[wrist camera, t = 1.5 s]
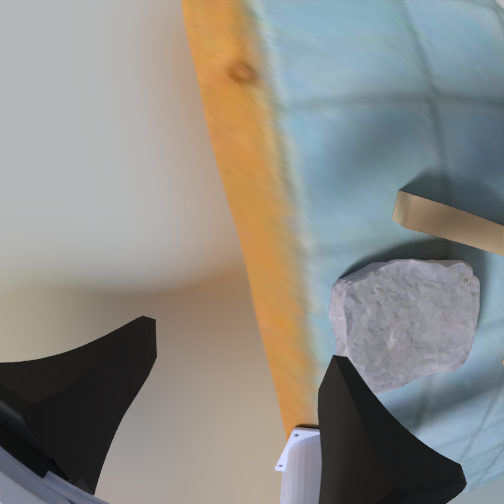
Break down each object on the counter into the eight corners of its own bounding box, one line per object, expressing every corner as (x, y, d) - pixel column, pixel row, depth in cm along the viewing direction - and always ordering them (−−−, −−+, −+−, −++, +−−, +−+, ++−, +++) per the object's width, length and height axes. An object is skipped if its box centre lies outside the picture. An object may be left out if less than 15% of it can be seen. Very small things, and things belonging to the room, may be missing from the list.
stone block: (319, 265, 21) (334, 379, 22) (326, 277, 17) (341, 412, 18) (453, 237, 20) (456, 346, 20) (485, 241, 15) (481, 368, 16)
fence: (511, 362, 20) (526, 381, 16) (347, 354, 21) (354, 385, 18) (558, 250, 16) (580, 262, 12) (398, 190, 17) (421, 197, 14)
